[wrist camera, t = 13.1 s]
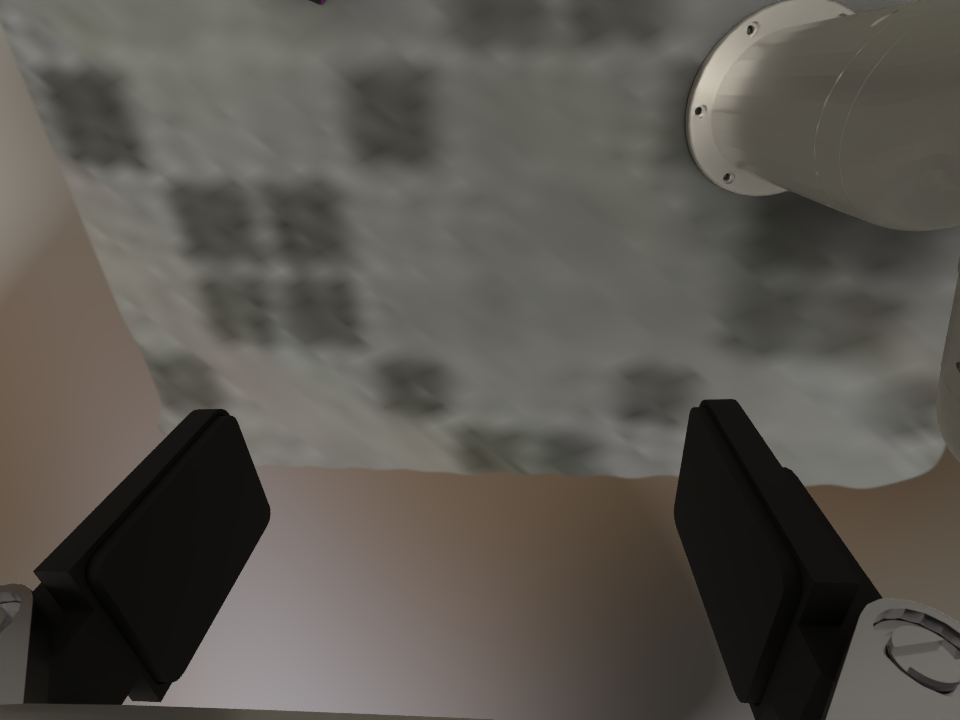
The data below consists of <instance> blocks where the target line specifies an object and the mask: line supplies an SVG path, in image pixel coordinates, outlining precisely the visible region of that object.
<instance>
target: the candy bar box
mask: <svg viewBox="0 0 960 720" xmlns="http://www.w3.org/2000/svg"><path fill="white" fill-rule="evenodd" d="M310 1H312V2H315V3H317V4H320V5H322V4H323V2H324V0H310Z"/></svg>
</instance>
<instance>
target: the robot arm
mask: <svg viewBox="0 0 960 720" xmlns="http://www.w3.org/2000/svg"><path fill="white" fill-rule="evenodd" d="M748 26H751V28H752V31H751V33H750V34H747V28H748ZM697 107H699V108H700V113H699V114H697V115H696V114H695V109H696V108H697ZM685 121H686V137H687V142H688V146H689V150H690V152H691V155H692V157H693V159H694V161H695V163H696V165H697V166H698V167H699V169H700V170H701V171H702V173H703V174H704V175H705V176H706V177H707V178H709V179H710V180H711V181H712V182H713V183H715V184H716V185H718V186H720V187H722V188H723V189H726V190H728V191H731V192H734V193H737V194H740V195H747V196H771V195H775V194H779V193H783V192H787V191H791V192H793V193H796V194H798V195H801V196H803V197H805V198H808V199H810V200H813V201H815V202H818V203H820V204H823V205H825V206H828V207H830V208H833V209H835V210H837V211H840V212H842V213H845V214H848V215H850V216H853V217H856V218H859V219H861V220H864V221H866V222H869V223H871V224H874V225H878V226H881V227H885V228H889V229H894V230H903V231H928V230H938V229H946V228H951V227H956V226H960V0H922V1H917V2H912V3H907V4H902V5H897V6H892V7H887V8H882V9H877V10H872V11H867V12H862V13H857V14H856V13H855V12H854V11H852V10H851V9H849V8H847V7H845V6H844V5H842V4H840V3H839V2H836V1H832V0H785V1H781V2H778V3H775V4H772V5H769V6H767V7H765V8H763V9H761V10H759V11H757V12H755V13H753V14H751V15H749V16H748V17H746V18H745V19H744V20H742V21H741V22H740V23H738V24H737V25H736V26H734V27H733V28H732V29H730V31H729V32H728V33H727V34H726V35H725V36H724V37H723V38H722V39H721V40H720V41H719V42H718V43H717V44H716V45H715V46H714V48H713V49H712V51H711V52H710V53H709V55H708V56H707V58H706V59H705V60H704V62H703V64H702V66H701V68H700V70H699V72H698V74H697V76H696V77H695V79H694V82H693V85H692V88H691V91H690V94H689V97H688V103H687V109H686V116H685ZM726 173H728V177H727V178H726V179H723V178H724V175H725V174H726ZM958 273H959V275H958V280H957V285H956V290H955V296H954V301H953V306H952V311H951V316H950V321H949V327H948V332H947V337H946V342H945V347H944V352H943V358H942V363H941V372H940V377H939V383H938V392H937V404H936V410H937V419H938V424H939V428H940V432H941V434H942V437H943V439H944V441H945V443H946V445H947V447H948V448H949V450H950V451H951V452H952V453H953V455H954V456H955V457H956V458H957V459H958V461H959V462H960V258H959V263H958ZM269 519H270V506H269V504H268V501H267V498H266V496H265V493H264V490H263V488H262V485H261V482H260V480H259V477H258V475H257V472H256V470H255V467H254V464H253V461H252V459H251V456H250V454H249V451H248V448H247V446H246V443H245V440H244V438H243V435H242V432H241V430H240V427H239V425H238V422H237V420H236V418H235V417H233V416H230V415H229V413H228V412H227V411H226V410H223V409H198V410H194V411H192V412H191V413H190V414H189V415H188V416H187V417H186V418H185V419H184V420H183V421H182V422H181V423H180V424H179V425H178V426H177V427H176V428H175V429H174V430H173V431H172V432H171V433H170V434H169V435H168V436H167V437H166V438H165V439H164V440H163V441H162V442H161V443H160V444H159V445H158V446H157V447H156V448H155V449H154V450H153V451H152V452H151V453H150V454H149V455H148V456H147V457H146V458H145V459H144V460H143V461H142V462H141V463H140V464H139V465H138V466H137V467H136V468H135V469H134V470H133V471H132V472H131V473H130V474H129V475H128V476H127V477H126V478H125V479H124V480H123V481H122V482H121V483H120V484H119V485H118V486H117V487H116V488H115V490H113V491H112V492H111V493H110V494H109V495H108V496H107V497H106V498H105V499H104V500H103V501H102V503H101V504H100V505H98V506H97V507H96V509H95V510H94V511H93V512H92V513H91V514H90V515H89V516H88V517H87V518H86V519H85V520H84V521H83V522H82V523H81V524H80V525H79V526H78V527H77V528H76V529H75V530H74V531H73V532H72V533H71V534H70V535H69V536H68V537H67V538H66V539H65V540H64V541H63V542H62V543H61V544H60V545H59V546H58V547H57V548H56V549H55V550H54V551H53V552H52V553H51V554H50V555H49V556H48V557H47V558H46V559H45V560H44V561H43V562H42V563H41V564H40V565H39V566H38V567H37V568H36V569H35V570H34V571H33V572H34V573H35V575H36V576H37V577H38V578H39V580H40V581H41V583H40V585H39V586H38V587H37V588H36V589H35V590H34V591H32V590H31V589H30V588H28V587H27V586H25V585H22V584H14V583H13V584H6V585H0V720H492V719H470V718H447V717H424V716H399V715H376V714H375V715H374V714H352V713H327V712H301V711H277V710H276V711H275V710H249V709H221V708H220V709H219V708H193V707H164V706H163V707H162V706H135V705H122V704H123V702H124V700H125V699H126V697H127V696H129V697H130V699H131V700H132V701H149V702H161V701H162V699H163V697H164V695H165V694H166V692H167V690H168V689H169V687H170V685H171V683H172V682H175V681H177V680H178V679H179V678H180V677H181V676H182V674H183V673H184V671H185V670H186V668H187V666H188V664H189V663H190V661H191V659H192V657H193V656H194V654H195V652H196V650H197V649H198V647H199V645H200V643H201V642H202V640H203V638H204V636H205V635H206V633H207V631H208V629H209V627H210V626H211V624H212V622H213V620H214V619H215V617H216V615H217V613H218V612H219V610H220V608H221V606H222V605H223V603H224V601H225V599H226V597H227V596H228V594H229V592H230V590H231V589H232V587H233V585H234V583H235V582H236V580H237V578H238V576H239V575H240V573H241V571H242V569H243V567H244V566H245V564H246V562H247V560H248V559H249V557H250V555H251V553H252V552H253V550H254V548H255V546H256V544H257V543H258V541H259V539H260V537H261V536H262V534H263V532H264V530H265V528H266V527H267V525H268V522H269ZM674 519H675V524H676V527H677V530H678V533H679V536H680V539H681V541H682V544H683V547H684V550H685V553H686V556H687V558H688V561H689V564H690V567H691V570H692V572H693V575H694V578H695V581H696V584H697V587H698V590H699V592H700V595H701V598H702V601H703V604H704V607H705V609H706V612H707V615H708V618H709V621H710V624H711V627H712V629H713V632H714V635H715V638H716V641H717V643H718V646H719V649H720V652H721V655H722V658H723V661H724V663H725V666H726V669H727V671H728V675H729V677H730V680H731V683H732V686H733V689H734V691H735V694H736V696H737V698H738V699H739V701H740V702H742V703H749V704H750V707H751V709H752V712H753V715H754V718H755V720H960V623H959V622H958V621H956V620H954V619H952V618H951V617H949V616H947V615H945V614H943V613H942V612H940V611H938V610H936V609H934V608H931V607H928V606H926V605H923V604H920V603H918V602H914V601H909V600H904V599H899V598H887V599H883V598H882V597H881V595H880V594H879V592H878V591H877V589H876V588H875V587H874V585H873V584H872V582H871V581H870V579H869V578H868V577H867V575H866V574H865V573H864V571H863V570H862V568H861V567H860V566H859V564H858V563H857V561H856V560H855V558H854V557H853V555H852V554H851V552H850V551H849V550H848V548H847V547H846V546H845V544H844V542H843V541H842V540H841V538H840V537H839V535H838V534H837V533H836V531H835V530H834V528H833V527H832V525H831V524H830V523H829V521H828V520H827V518H826V517H825V515H824V514H823V513H822V511H821V510H820V508H819V507H818V506H817V504H816V503H815V501H814V500H813V498H812V497H811V496H810V494H809V493H808V491H807V490H806V488H805V487H804V486H803V484H802V483H801V481H800V480H799V478H798V477H797V476H796V475H795V474H794V473H793V471H792V470H790V469H788V468H786V467H782V466H781V465H780V463H779V462H778V460H777V459H776V457H775V456H774V454H773V453H772V451H771V450H770V449H769V447H768V446H767V444H766V443H765V441H764V440H763V438H762V437H761V435H760V434H759V432H758V431H757V429H756V428H755V427H754V425H753V424H752V422H751V421H750V419H749V418H748V416H747V415H746V413H745V412H744V410H743V409H742V407H741V406H740V405H739V403H738V402H737V401H736V400H734V399H718V400H703V401H702V402H701V403H700V406H699V407H693V408H692V409H691V411H690V414H689V420H688V426H687V432H686V438H685V444H684V451H683V457H682V463H681V469H680V475H679V481H678V487H677V493H676V499H675V505H674Z"/></svg>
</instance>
